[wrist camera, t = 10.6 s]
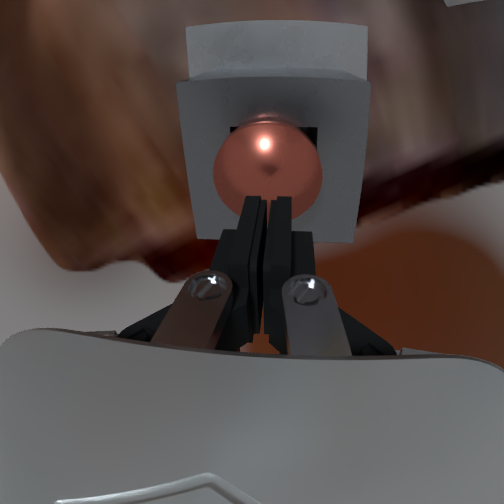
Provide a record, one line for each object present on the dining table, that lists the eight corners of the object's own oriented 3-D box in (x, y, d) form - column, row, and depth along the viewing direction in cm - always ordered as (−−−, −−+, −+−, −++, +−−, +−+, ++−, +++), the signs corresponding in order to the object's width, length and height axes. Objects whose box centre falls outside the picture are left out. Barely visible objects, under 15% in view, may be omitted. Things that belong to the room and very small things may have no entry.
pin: (237, 96, 22) (208, 125, 14) (311, 96, 21) (325, 126, 14) (240, 162, 25) (217, 222, 18) (309, 163, 24) (318, 225, 17)
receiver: (189, 27, 20) (135, 21, 12) (364, 27, 18) (408, 17, 10) (208, 213, 31) (179, 282, 23) (350, 217, 29) (370, 289, 21)
